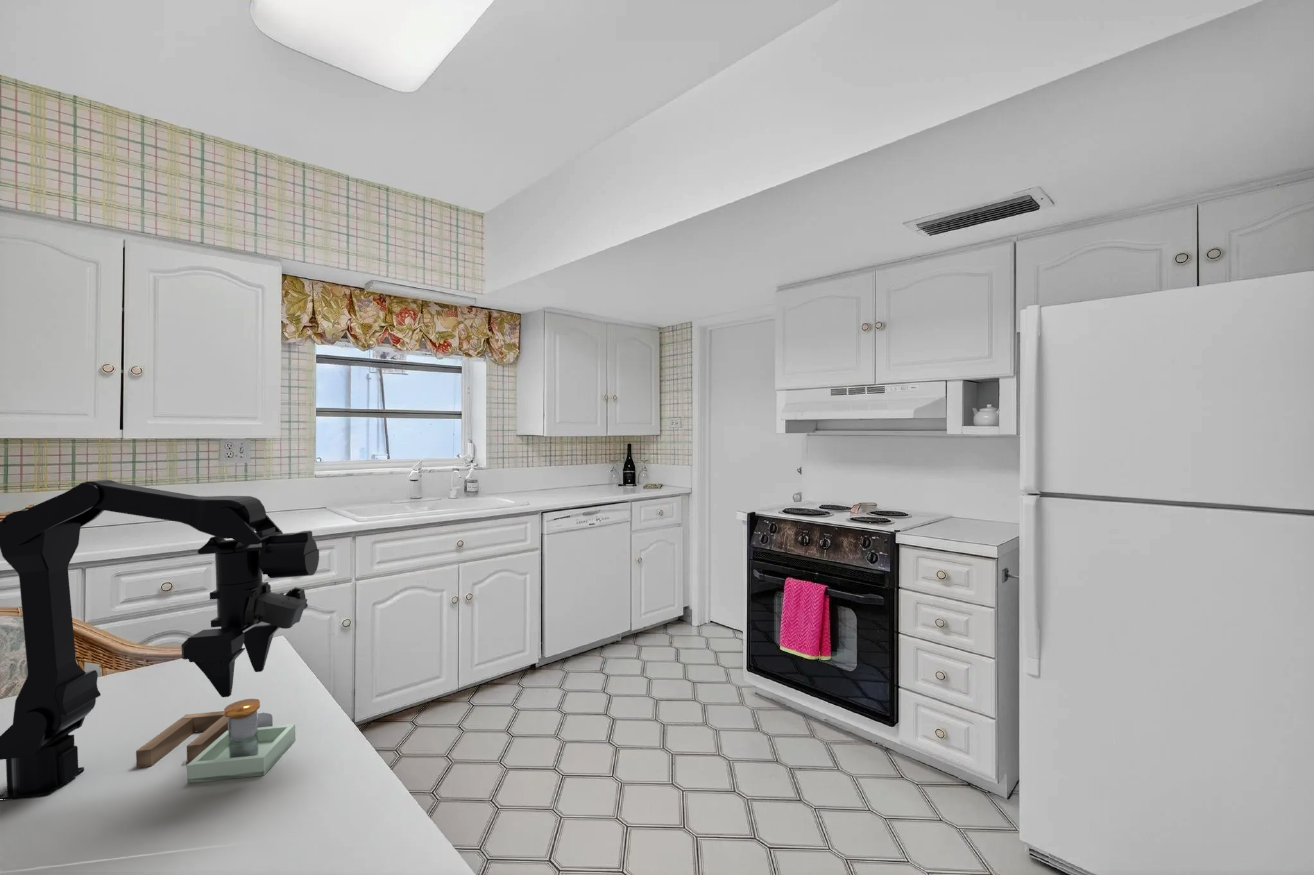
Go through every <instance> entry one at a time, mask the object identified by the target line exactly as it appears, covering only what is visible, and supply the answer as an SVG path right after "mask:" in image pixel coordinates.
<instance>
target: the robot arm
mask: <svg viewBox="0 0 1314 875" xmlns="http://www.w3.org/2000/svg"><path fill="white" fill-rule="evenodd" d="M105 511H107V512H111V513H118V514H125V515H130V516H137V517H145V518H152V519H157V520H163V521H169V522H176V523H181V524H183V525H187V526H190V527H191V528H193V529H195V530H197V531H198V532H201V533H204V534H207V535H211V536H212V537H210V538H209V539H208V541H207V542H206V543H205V544H203V545H202V546H201V547H200V548H199V549H198V550H197V554H198V555H210V554H214V559H215V560H214V562H215V587H216V589H215V590H213V591H211V592H209V600H216V610H217V611H216V614H217V616H216V617H215V618H213V619H211V620H210V629H202V630H201V631H198V632H196V633H195V634H193V635H191V636H189V637H188V638H186V639H185V641H184V642H182V644H181V646H180V647H181V659H182V660H188V662H189V663H194V664H195V666H197V667H198V669H199V670H200V671H201V672H202V673H203V674H204V676H205V677H206V678H207V679H208V681H209V682H210V684H211V685H212V686H213V687H214V689H215V690H216V692H217V693H218V694H219V696H220V697H221V698H229V697H231V696H232V692H233V686H234V685H233V684H234V674H235V666H236V665H235V664H236V659H238V658H239V657H240V655H241V654H242V653H244V652H245V650H246V653H247V656H248V659H249V662H250V664H251V666H252V668H253V671H254V672H255V673H261V672H263V671H264V669H265V666H266V662H267V658H268V655H269V651H270V649H271V648H270V647H271V644H272V641H273V638H274V635H275V633H277V631H278V630H279V629H285V630H286V629H291V628H292V627H293V626H294V625H295V624H297V623H300V621H301V618H302V615H303V613H304V610H306V609H307V608H308V607H309V604H308V603H307V602H308V598H306V592H305V589H303V588H300V587H297V586H295V587H293V588H291V589H290V590H288V591H287V592H286V593H285V592H280V593H275V592H272V590H271V584H269V581H264V582H263V575H264V576H265V575H267V577H268V578H270V579H282V578H293V577H294V578H295V577H296V578H297V577H304V576H305V577H306V576H307V577H309V576H314V575H315V574H316V572H317V569H318V567H319V562H320V550H319V548H318V545H317V542H316V540H315V538H313V531H312V530H304V531H299V532H289V533H284V532H283V531H282V530H281V529H280V527H279V526H278V525H276V524H275V522H274V521H273V520H272V519H271V518H270V517H269V516H268V514H267V513H266V508H265V506H264V505H263V502H262V501H261V500H260V499H259V498H257V497H254V496H251V495H210V496H208V495H206V496H205V495H204V496H202V495H201V496H199V495H194V494H187V493H180V492H175V491H169V490H161V489H156V488H151V487H146V486H145V487H144V486H137V485H133V484H132V485H131V484H127V483H120V482H117V481H114V480H112V479H101V480H100V479H99V480H90V481H89V480H87V481H83V482H81V483H78V485H76V486H74V487H72V488H71V489H69V490H66V492H63V493H61V494H58V495H56V496H54V497H51V498H50V499H49V498H48V499H47V500H45V501H42V502H40V503H38V504H35V505H33V506H32V507H29V508H28V509H22V510H18V511H12V512H10V513H9V514H7V515H6V516H5V517H4V518H2V520H0V553H1V556H2V558H3V559H4V561H6V563H8V565H10V566H11V567H12V569H13V570H14V571H15V572H16V573H17V575H18V579H19V580H18V581H19V591H20V593H19V594H20V601H21V602H20V603H21V614H22V626H23V637H24V638H23V639H24V648H25V659H26V668H27V669H26V670H27V671H26V672H27V675H26V678H25V680H24V681H23V682H24V683H23V684H22V686H21V689H20V691H19V693H18V694H17V697H16V699H15V701H14V709H13V715H12V716H13V718H12V724H11V725H10V726H9V727H8V728H7V729H6V730H5V731H4V732H3V733H1V735H0V760H1V761H2V760H5V768H6V769H5V770H6V775H5V776H6V790H5V791H3V792H2V793H0V799H3V800H2V801H5V800H4V799H12V800H20V799H21V800H22V799H28V798H29V799H30V798H39V797H47V796H50V795H51V794H54V792H56V791H57V790H58V789H60V788H62V787H64V785H66V784H68V783H69V782H71V781H72V780H73V779H75V778H76V777H78V776H79V775H81V774H82V773H84V772H85V767H84V766H81V767H79V751H78V750H79V749H78V746H77V745H75V734H70V733H72V732H73V731H75V730H78V729H79V728H81V727H82V726H83V724H84V722H85V719H86V716H88V715H89V713H91V711H92V710H93V709H94V708H95V706H96V702H97V698H99V697H101V692H100V691H99V689H98V688H99V687H98V676H99V675H98V671H97V670H95V669H94V670H90V671H88V672H87V671H85V670H84V669H83V668H82V667H81V666H80V665H79V664H78V662H77V659H76V649H75V648H76V647H75V645H76V644H75V636H74V624H73V613H72V612H73V611H72V600H71V589H70V577H69V565H70V562H71V560H72V559H73V556H74V554H75V553H76V551H77V549H78V546H79V544H80V543H79V542H80V536H81V534H80V533H81V528H82V527H84V526H86V525H88V524H89V523H90V522H92V521H94V520H96V519H97V518H98V517H99V516H100V515H102V513H103V512H105ZM211 628H212V629H211ZM243 646H244V647H243Z"/></svg>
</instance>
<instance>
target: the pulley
mask: <svg viewBox="0 0 1314 875" xmlns="http://www.w3.org/2000/svg"><path fill="white" fill-rule="evenodd" d="M273 722H274V721H273V715H272V714H271V713H268V712H259V713H258V712H257V725H258V728H260V727H270V726H274V724H273Z"/></svg>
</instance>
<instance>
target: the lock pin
mask: <svg viewBox="0 0 1314 875" xmlns="http://www.w3.org/2000/svg"><path fill="white" fill-rule="evenodd" d="M260 707H261V700H260V699H257V698H246V699H241V700H238V701H235V702H233V703H230V704H228V705H227V706H226V707H224V709H223V711H224V715H225V717H228V734H229V758H237V757H246V756H256V755H258V753H259V752H258V725H257V713H258V710H259V709H260Z"/></svg>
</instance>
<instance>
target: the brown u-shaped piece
mask: <svg viewBox="0 0 1314 875" xmlns="http://www.w3.org/2000/svg"><path fill="white" fill-rule="evenodd" d="M226 731H228V717H225V715H224V710H221V711H219V710H218V711H211V712H200V713H198V712H197V713H187V714H184V715H183V716H182V717H181V718H179V719H177V720H176V721H175V722H174V723H172V724H171V725H170V726H168V727H166V728H165V729H164V730H163V731H161V732H160V733H159V734H157V735H156V736H154V737H153V738H152V739H151V740H149V741H148V742H146V743H145V744H143V745H142V746H141V747H140V748H138V749H137V750H135V751H136V752H135V756H136V757H135V758H136V759H135V761H136V763H135V764H136V768H145V767H152V766H154V765H155V764H156V763H157V762H159V761H160V760H161V759H163V758H164V757H165V756H166V755H167V754H168V753H170V752H171V751H173V750H174V749H175V748H177V746H179V745H181V743H183V742H184V741H185V740H187V739H188V738H189V737H190V736H191V735H193V734H194V733H201V734H199V735H198V736H197V737H196V738H194V739H193V740H192V741H190V743H188V744H187V745H186V763H190V762H191V761H192V760H193V759H195V758H196V757H197V756H198V755H199V754H200V753H202V752H203V751H204V750H205V749H206V748H207V747H208V746H210V745H211V744H212V743H213V742H214V741H215V740H217V739H218V738H219V737H220V736H221V735H222V734H223V733H225V732H226Z"/></svg>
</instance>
